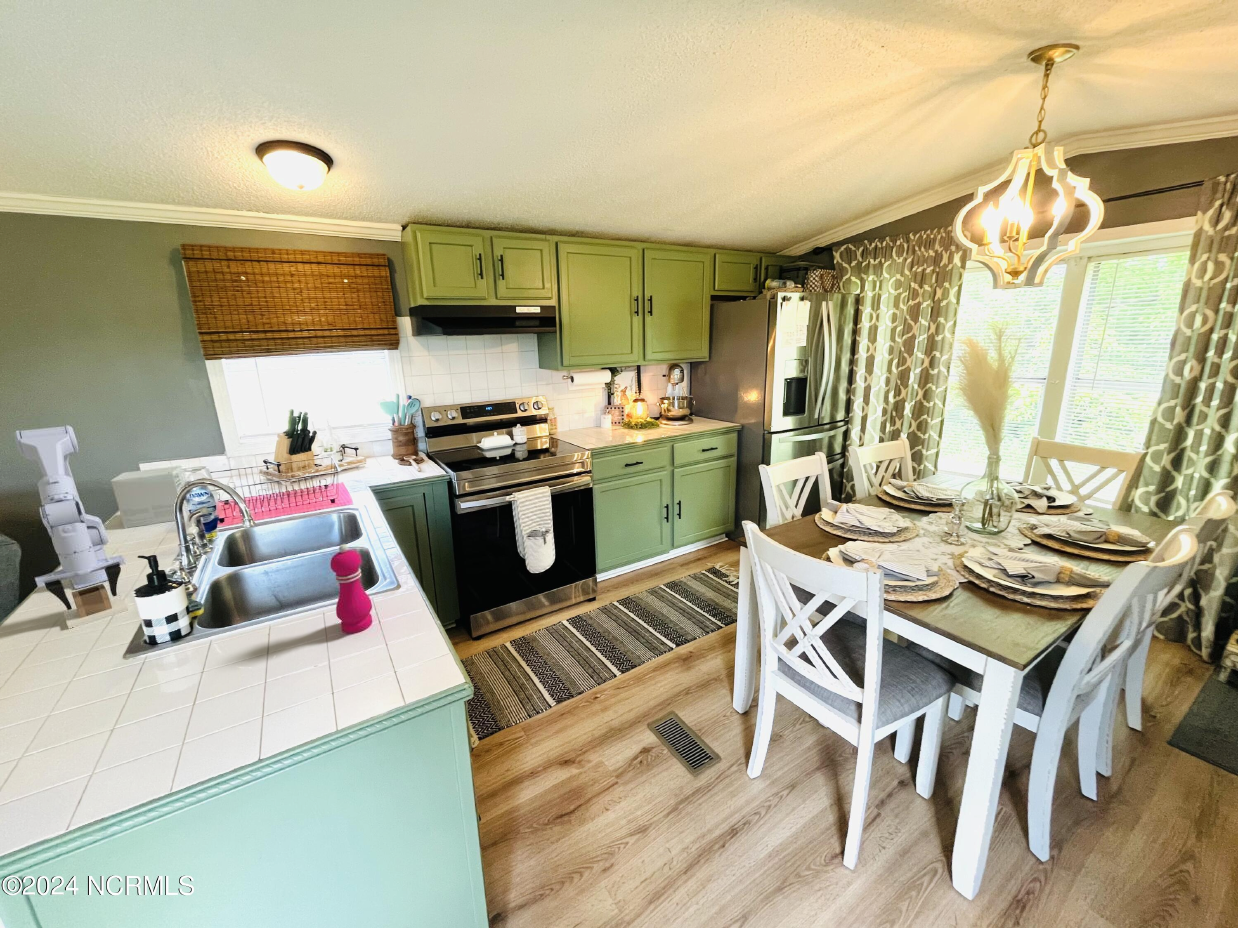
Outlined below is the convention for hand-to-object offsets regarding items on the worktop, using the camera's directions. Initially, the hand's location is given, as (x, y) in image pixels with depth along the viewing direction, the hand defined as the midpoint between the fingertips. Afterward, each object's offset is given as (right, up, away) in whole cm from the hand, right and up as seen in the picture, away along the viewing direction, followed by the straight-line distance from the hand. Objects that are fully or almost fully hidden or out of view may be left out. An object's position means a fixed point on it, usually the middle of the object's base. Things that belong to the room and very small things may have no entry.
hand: (92, 601), depth 120 cm
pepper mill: (+68, -4, -7) cm, 69 cm away
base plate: (0, -3, +1) cm, 3 cm away
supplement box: (-44, +13, +65) cm, 80 cm away
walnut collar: (0, -2, +1) cm, 2 cm away
